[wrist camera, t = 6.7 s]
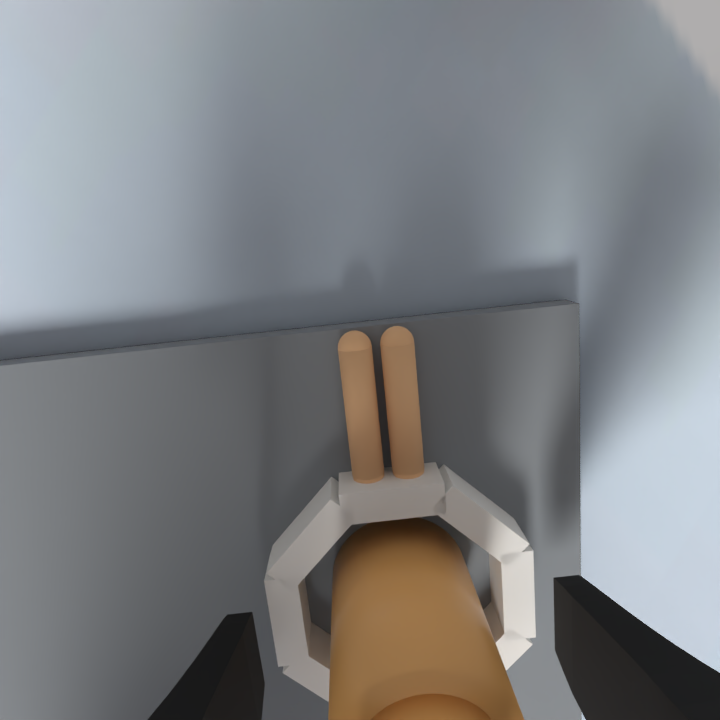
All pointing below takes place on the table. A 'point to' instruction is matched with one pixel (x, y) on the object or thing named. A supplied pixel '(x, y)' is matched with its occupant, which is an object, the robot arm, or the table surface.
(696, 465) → the table surface
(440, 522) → the mat
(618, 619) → the robot arm
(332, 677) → the stepped orange capsule
